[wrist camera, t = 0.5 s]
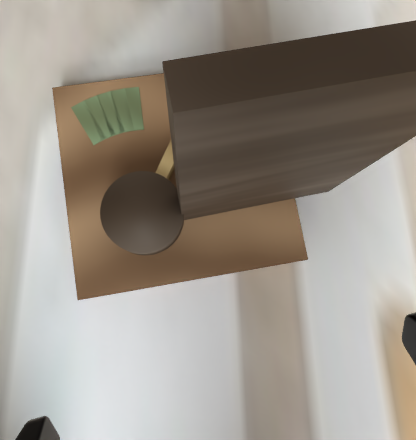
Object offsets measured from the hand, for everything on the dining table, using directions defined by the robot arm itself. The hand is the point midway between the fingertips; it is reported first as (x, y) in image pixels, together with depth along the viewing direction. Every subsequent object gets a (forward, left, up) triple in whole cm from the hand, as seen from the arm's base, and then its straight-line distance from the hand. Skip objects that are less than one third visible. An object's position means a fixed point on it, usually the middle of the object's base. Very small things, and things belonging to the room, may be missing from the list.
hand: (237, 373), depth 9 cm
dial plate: (+7, -5, -14) cm, 16 cm away
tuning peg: (+6, -7, -12) cm, 15 cm away
